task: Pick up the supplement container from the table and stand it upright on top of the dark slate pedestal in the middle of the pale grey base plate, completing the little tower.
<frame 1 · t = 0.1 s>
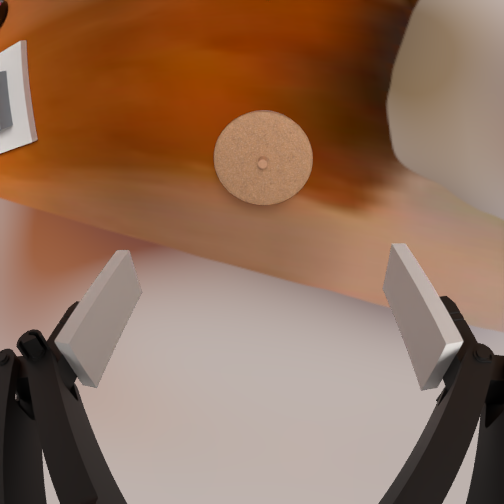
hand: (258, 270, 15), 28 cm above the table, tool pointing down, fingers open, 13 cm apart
lidded jar: (264, 145, 39), on the table
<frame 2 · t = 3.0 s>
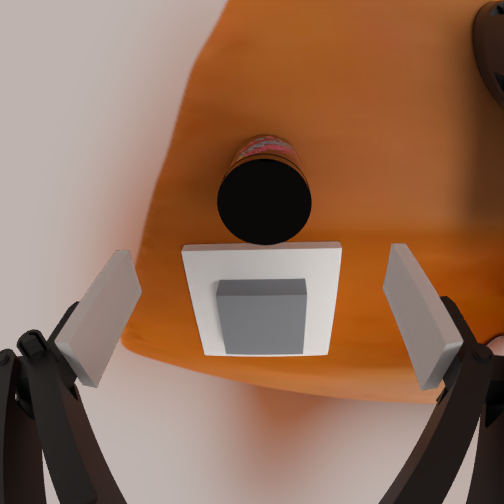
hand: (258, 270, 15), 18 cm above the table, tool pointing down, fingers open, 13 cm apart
build base: (264, 303, 40), on the table
lidded jar: (493, 346, 44), on the table
supplement container: (266, 164, 31), on the table
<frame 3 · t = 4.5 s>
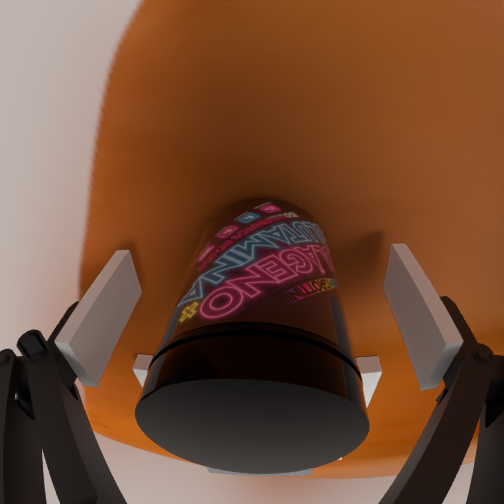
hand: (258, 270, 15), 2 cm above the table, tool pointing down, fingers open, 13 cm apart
build base: (259, 418, 26), on the table
supplement container: (264, 249, 17), on the table
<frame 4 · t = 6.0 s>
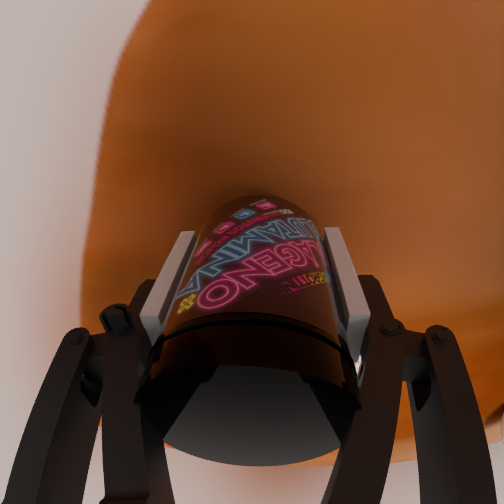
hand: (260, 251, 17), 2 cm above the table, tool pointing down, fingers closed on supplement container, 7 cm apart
supplement container: (260, 246, 17), point 2 cm above the table, touching gripper
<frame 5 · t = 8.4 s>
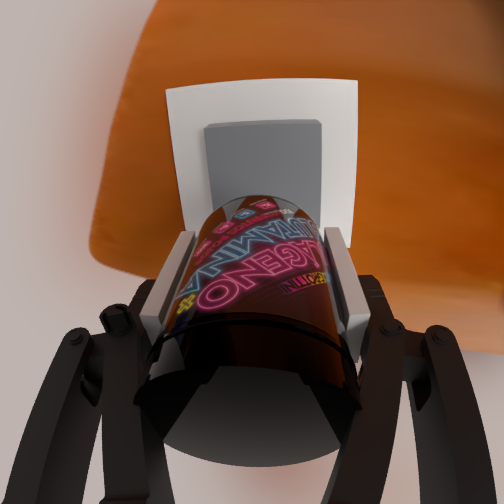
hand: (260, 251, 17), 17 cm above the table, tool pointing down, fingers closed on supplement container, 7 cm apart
build base: (266, 166, 31), on the table
supplement container: (260, 246, 17), point 16 cm above the table, touching gripper
when the fingers open (6 cm above the table, at t = 11.1 s): supplement container drops 1 cm, resting on build base.
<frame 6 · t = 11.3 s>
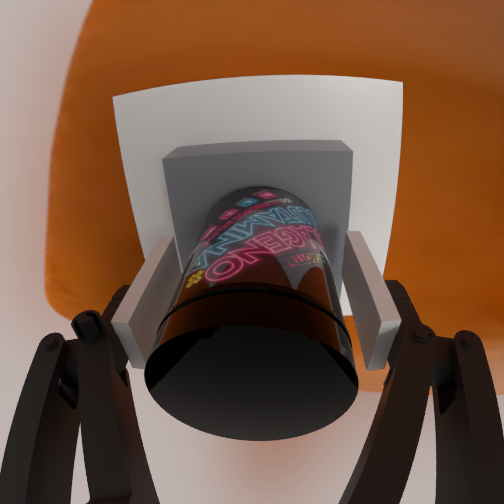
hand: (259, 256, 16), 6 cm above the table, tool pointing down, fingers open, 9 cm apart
build base: (262, 207, 22), on the table
supplement container: (261, 235, 18), point 4 cm above the table, touching build base
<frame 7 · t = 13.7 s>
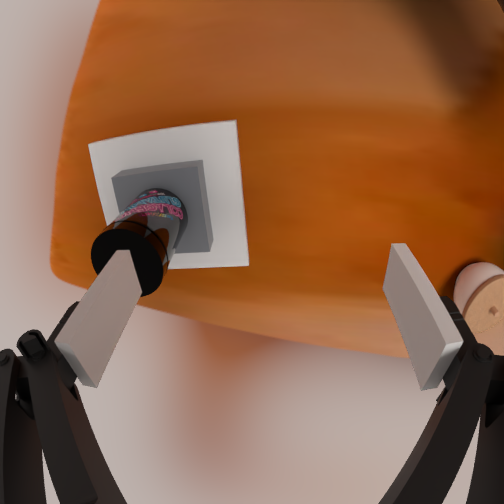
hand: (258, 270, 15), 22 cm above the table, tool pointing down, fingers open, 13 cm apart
build base: (170, 200, 37), on the table
lidded jar: (469, 277, 42), on the table
supplement container: (160, 213, 33), point 4 cm above the table, touching build base
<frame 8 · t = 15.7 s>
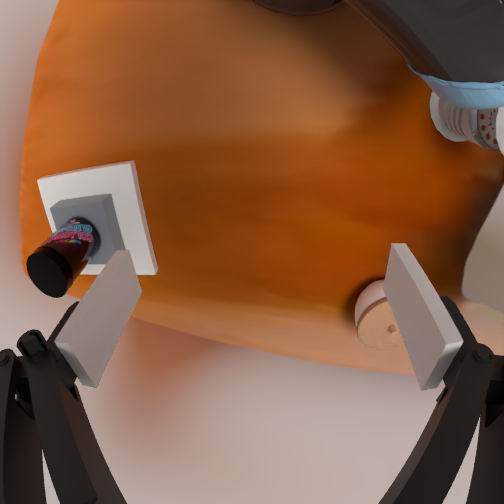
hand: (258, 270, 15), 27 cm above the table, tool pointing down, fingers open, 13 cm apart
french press: (457, 102, 32), on the table
build base: (96, 222, 45), on the table
lidded jar: (378, 293, 49), on the table
supplement container: (83, 234, 41), point 4 cm above the table, touching build base
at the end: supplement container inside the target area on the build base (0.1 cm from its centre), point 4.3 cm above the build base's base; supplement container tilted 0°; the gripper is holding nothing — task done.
